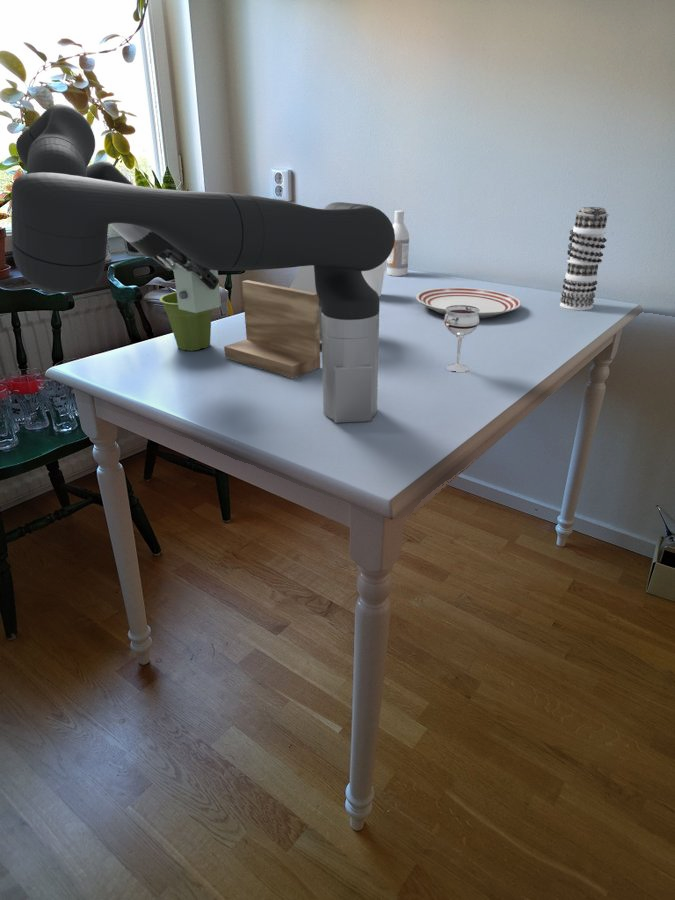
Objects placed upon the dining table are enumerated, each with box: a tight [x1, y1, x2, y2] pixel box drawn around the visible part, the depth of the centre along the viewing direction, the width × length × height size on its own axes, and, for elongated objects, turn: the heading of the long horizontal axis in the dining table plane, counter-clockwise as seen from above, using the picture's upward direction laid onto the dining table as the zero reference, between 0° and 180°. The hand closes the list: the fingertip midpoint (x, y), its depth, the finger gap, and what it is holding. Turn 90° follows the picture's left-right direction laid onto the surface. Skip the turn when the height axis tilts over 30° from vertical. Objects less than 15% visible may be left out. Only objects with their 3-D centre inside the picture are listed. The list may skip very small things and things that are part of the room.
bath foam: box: [386, 210, 410, 277], centre depth 200 cm, size 7×7×20 cm
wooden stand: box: [223, 279, 321, 379], centre depth 124 cm, size 8×20×15 cm, turn 50°
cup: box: [361, 259, 387, 298], centre depth 175 cm, size 9×9×12 cm
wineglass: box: [443, 305, 480, 373], centre depth 120 cm, size 7×7×12 cm
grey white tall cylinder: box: [559, 206, 610, 311], centre depth 160 cm, size 9×9×25 cm
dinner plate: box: [415, 286, 522, 319], centre depth 163 cm, size 27×27×3 cm
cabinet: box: [172, 261, 222, 313], centre depth 111 cm, size 7×5×10 cm
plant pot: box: [159, 291, 213, 352], centre depth 135 cm, size 12×12×11 cm
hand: (205, 283), depth 113 cm, fingers closed on cabinet, 5 cm apart
